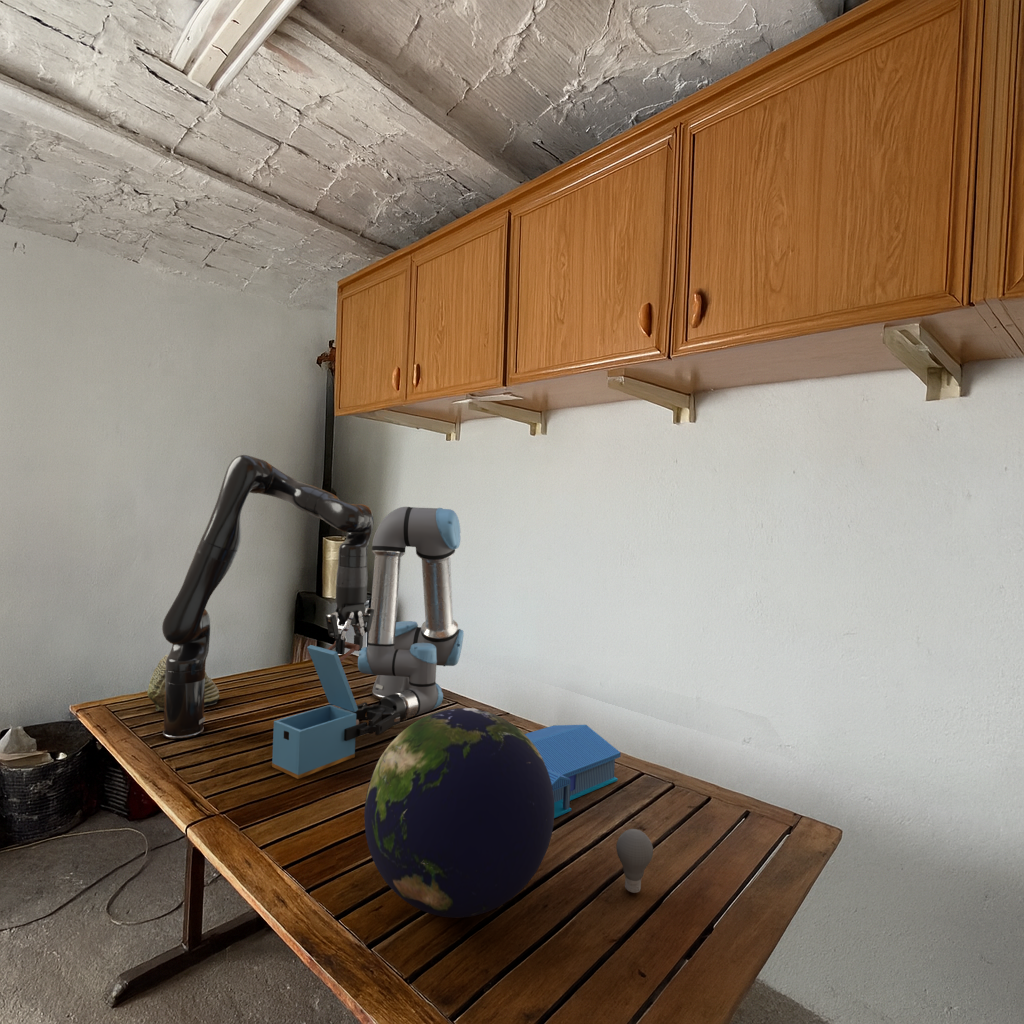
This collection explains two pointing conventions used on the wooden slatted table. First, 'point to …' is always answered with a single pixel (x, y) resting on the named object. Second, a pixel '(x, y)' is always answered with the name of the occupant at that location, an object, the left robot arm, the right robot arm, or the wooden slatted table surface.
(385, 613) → the right robot arm
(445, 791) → the globe
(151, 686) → the fossil
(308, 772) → the chest
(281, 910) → the wooden slatted table surface
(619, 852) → the light bulb
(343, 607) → the left robot arm
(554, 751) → the model building
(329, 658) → the lid
